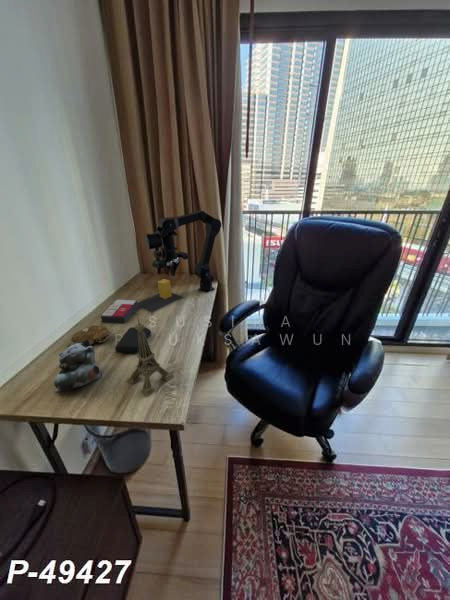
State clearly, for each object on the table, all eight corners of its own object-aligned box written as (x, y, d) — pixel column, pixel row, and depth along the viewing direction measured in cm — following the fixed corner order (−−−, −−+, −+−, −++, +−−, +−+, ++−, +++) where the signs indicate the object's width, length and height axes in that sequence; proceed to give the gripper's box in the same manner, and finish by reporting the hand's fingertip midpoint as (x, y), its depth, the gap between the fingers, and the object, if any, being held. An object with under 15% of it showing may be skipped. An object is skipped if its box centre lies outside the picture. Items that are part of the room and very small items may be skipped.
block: (166, 294, 137) (164, 278, 133) (171, 296, 135) (169, 280, 130) (159, 296, 134) (157, 281, 130) (165, 299, 131) (163, 283, 127)
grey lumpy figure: (45, 394, 77) (36, 349, 77) (79, 380, 88) (72, 341, 88) (80, 391, 72) (72, 344, 72) (112, 377, 83) (104, 336, 83)
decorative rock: (118, 331, 107) (85, 331, 108) (116, 323, 105) (82, 323, 107) (104, 347, 97) (68, 347, 98) (102, 338, 95) (64, 338, 96)
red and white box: (99, 315, 112) (116, 298, 125) (102, 323, 114) (118, 305, 127) (122, 316, 110) (137, 299, 123) (125, 324, 113) (138, 306, 125)
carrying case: (141, 355, 93) (154, 332, 106) (140, 348, 91) (153, 326, 104) (114, 354, 93) (130, 331, 106) (112, 347, 92) (129, 325, 105)
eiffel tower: (154, 362, 89) (141, 300, 77) (173, 376, 83) (163, 311, 71) (127, 380, 82) (109, 314, 70) (146, 396, 76) (130, 327, 64)
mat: (166, 291, 141) (166, 290, 141) (183, 297, 133) (183, 297, 133) (135, 304, 128) (135, 304, 127) (151, 313, 120) (151, 312, 120)
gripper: (172, 239, 131) (176, 267, 138) (142, 247, 118) (148, 278, 125) (187, 242, 124) (190, 271, 132) (157, 251, 112) (162, 283, 119)
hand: (173, 275), depth 127 cm, fingers closed
